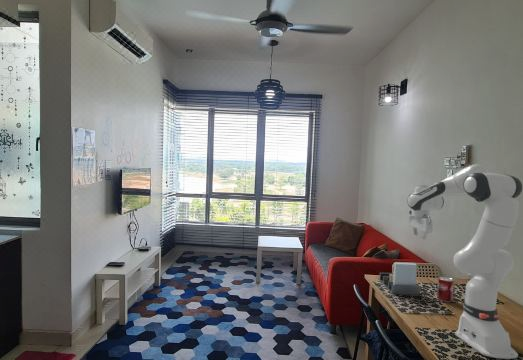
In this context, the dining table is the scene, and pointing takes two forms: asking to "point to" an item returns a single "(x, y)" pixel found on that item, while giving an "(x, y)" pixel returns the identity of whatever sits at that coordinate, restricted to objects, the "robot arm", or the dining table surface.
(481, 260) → the robot arm
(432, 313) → the dining table surface
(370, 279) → the dining table surface
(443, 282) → the soda can
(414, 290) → the rack
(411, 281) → the acrylic sheet
